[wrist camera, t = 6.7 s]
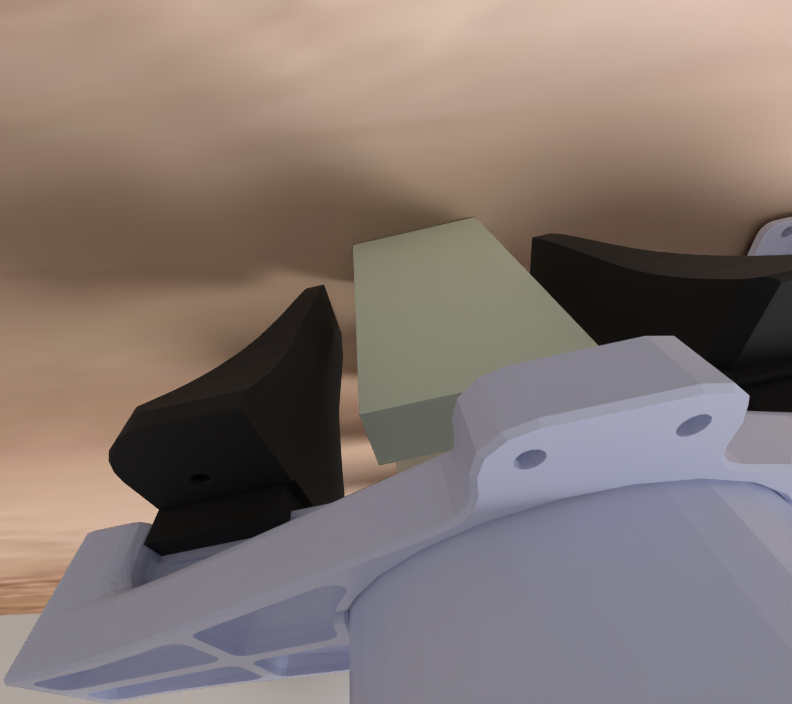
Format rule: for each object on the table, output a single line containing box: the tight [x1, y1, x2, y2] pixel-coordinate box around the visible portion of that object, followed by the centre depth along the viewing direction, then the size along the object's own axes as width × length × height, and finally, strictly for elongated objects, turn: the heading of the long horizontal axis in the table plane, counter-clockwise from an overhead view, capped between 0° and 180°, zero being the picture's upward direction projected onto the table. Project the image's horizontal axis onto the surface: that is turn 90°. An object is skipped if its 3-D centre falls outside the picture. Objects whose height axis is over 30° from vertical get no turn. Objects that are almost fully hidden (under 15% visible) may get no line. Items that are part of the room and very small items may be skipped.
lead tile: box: [353, 217, 598, 465], centre depth 11 cm, size 5×2×9 cm, turn 100°
